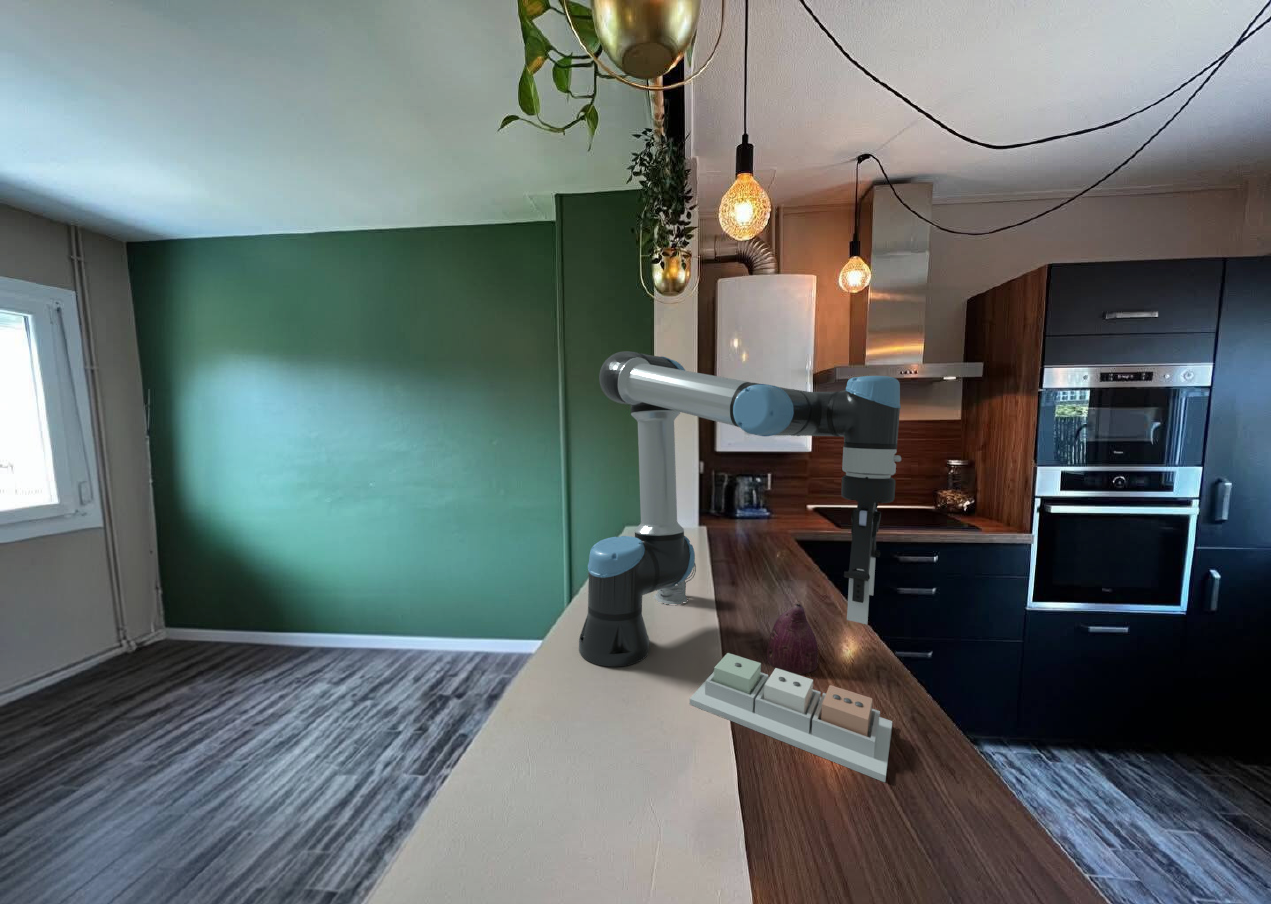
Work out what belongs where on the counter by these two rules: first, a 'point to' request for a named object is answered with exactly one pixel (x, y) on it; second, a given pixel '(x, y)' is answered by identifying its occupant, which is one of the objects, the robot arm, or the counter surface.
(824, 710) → the key three
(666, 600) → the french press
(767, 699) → the key two
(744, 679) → the key one
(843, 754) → the console
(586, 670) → the counter surface
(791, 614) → the vegetable
